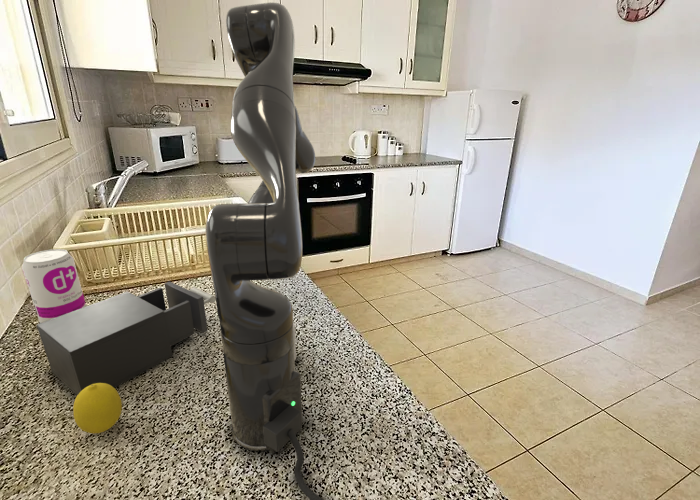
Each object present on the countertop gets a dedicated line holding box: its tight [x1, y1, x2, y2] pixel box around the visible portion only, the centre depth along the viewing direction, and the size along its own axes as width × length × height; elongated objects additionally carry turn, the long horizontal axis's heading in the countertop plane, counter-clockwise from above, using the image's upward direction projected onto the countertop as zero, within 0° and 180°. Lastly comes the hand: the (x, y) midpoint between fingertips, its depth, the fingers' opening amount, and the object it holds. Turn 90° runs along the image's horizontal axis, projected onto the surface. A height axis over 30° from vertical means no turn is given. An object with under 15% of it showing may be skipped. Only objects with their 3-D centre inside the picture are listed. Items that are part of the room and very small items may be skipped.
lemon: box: [72, 383, 123, 434], centre depth 52 cm, size 6×6×8 cm
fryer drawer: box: [136, 280, 216, 347], centre depth 74 cm, size 18×11×8 cm, turn 146°
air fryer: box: [36, 291, 173, 396], centre depth 65 cm, size 15×13×10 cm
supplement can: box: [21, 248, 87, 324], centre depth 77 cm, size 8×8×15 cm
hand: (225, 274), depth 83 cm, fingers closed
